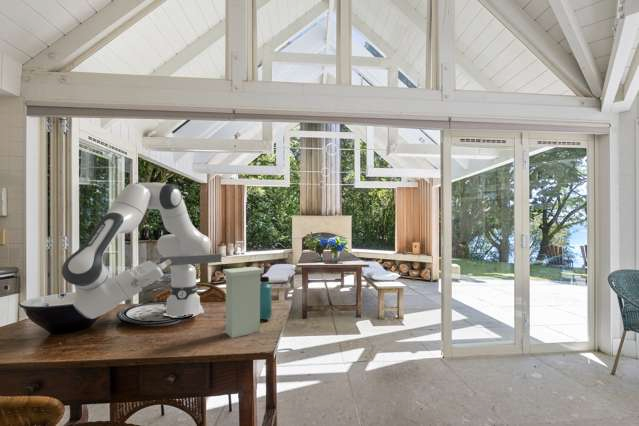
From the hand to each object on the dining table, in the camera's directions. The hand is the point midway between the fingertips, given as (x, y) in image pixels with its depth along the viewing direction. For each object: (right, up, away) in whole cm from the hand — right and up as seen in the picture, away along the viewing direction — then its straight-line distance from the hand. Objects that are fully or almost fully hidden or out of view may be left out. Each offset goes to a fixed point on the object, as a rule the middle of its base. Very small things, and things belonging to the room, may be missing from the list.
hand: (168, 259), depth 118 cm
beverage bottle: (+29, -33, +32) cm, 54 cm away
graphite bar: (+6, -2, +5) cm, 8 cm away
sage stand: (+23, -32, +17) cm, 43 cm away
